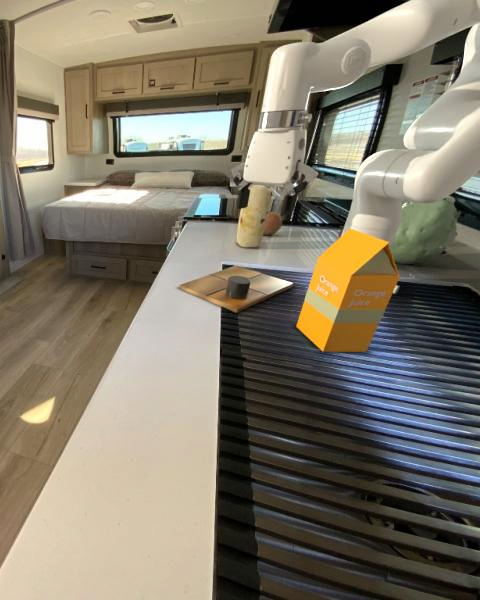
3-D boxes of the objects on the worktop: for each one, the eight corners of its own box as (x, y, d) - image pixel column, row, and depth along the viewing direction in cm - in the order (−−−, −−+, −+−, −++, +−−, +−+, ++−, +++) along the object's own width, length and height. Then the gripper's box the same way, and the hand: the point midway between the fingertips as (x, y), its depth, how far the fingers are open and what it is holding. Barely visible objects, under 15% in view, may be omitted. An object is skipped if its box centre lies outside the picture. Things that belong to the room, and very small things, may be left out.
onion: (253, 242, 129) (245, 218, 126) (264, 231, 133) (257, 208, 130) (278, 238, 121) (271, 213, 118) (289, 227, 125) (282, 202, 123)
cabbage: (365, 264, 97) (393, 194, 88) (373, 250, 109) (398, 186, 100) (440, 278, 87) (479, 200, 78) (439, 260, 99) (473, 191, 90)
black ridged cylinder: (251, 296, 77) (255, 280, 75) (239, 301, 75) (243, 285, 73) (233, 289, 80) (236, 274, 79) (220, 294, 78) (223, 278, 76)
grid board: (292, 286, 84) (293, 282, 83) (236, 312, 72) (237, 308, 72) (235, 268, 96) (236, 265, 95) (179, 288, 84) (179, 284, 84)
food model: (265, 248, 113) (279, 186, 104) (251, 250, 110) (265, 188, 101) (241, 240, 121) (253, 183, 112) (228, 243, 118) (239, 184, 109)
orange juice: (334, 326, 66) (372, 228, 58) (367, 352, 58) (416, 242, 50) (294, 326, 67) (326, 228, 58) (322, 351, 59) (362, 242, 50)
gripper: (340, 119, 60) (314, 214, 68) (249, 124, 73) (236, 203, 81) (321, 120, 56) (296, 220, 64) (229, 125, 69) (217, 208, 77)
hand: (262, 211), depth 72 cm, fingers open, 9 cm apart
